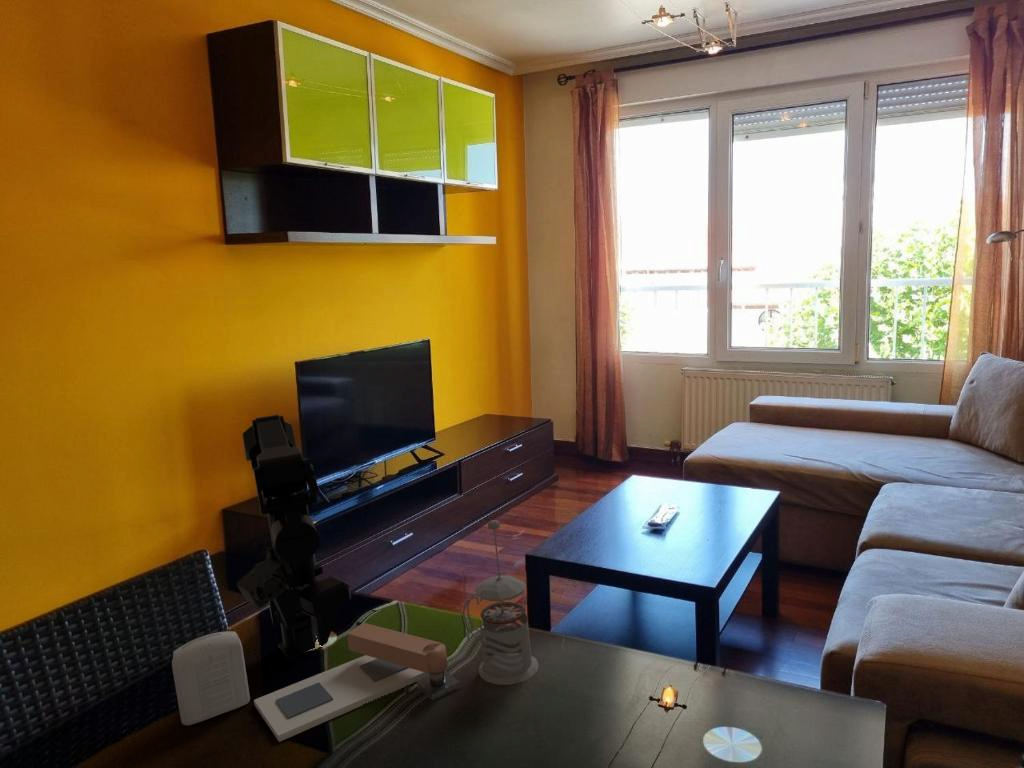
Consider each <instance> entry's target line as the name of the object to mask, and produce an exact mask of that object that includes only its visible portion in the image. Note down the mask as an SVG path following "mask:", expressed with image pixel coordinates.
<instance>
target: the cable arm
mask: <svg viewBox="0 0 1024 768" xmlns="http://www.w3.org/2000/svg"><path fill="white" fill-rule="evenodd" d="M346 637H347V644H348V645H347V646H348V650H349V651H351V652H353V653H358V654H361V655H363V656H365V655H367V656H370V657H374V658H377V659H381V660H384V661H388V662H391V663H394V664H398V665H401V666H405V667H408V668H411V669H415V670H418V671H422V672H425V673H439V672H442V671H444V670H445V671H446V669H447V668H448V666H449V665H448V664H449V663H448V656H447V647H446V645H445V644H444V643H443V642H441V641H435V640H432V639H429V638H428V639H427V638H424V637H420V636H416V635H413V634H409V633H405V632H402V631H401V632H400V631H397V630H393V629H390V628H385V627H381V626H378V625H374V624H370V623H367V622H362V623H361V624H359V625H358V626H356V627H355V628H353V629H351V630H350V631H348V632H347V633H346Z"/></svg>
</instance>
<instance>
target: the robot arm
mask: <svg viewBox="0 0 1024 768" xmlns="http://www.w3.org/2000/svg"><path fill="white" fill-rule="evenodd" d="M242 441H243V449H244V455H245V460H246V462H249V461H250V464H251V465H250V467H251V470H252V471H253V475H254V481H255V487H256V492H257V497H258V498H257V499H258V504H259V508H260V514H261V515H265V514H267V519H268V526H269V533H270V538H271V545H270V546H267V547H266V549H267V550H265V555H266V558H265V560H263V561H260V562H257V563H255V564H253V567H252V568H251V569H250V570H249V571H248V572H247V573H246V574H245V575H243V577H241V578H240V579H239V580H238V581H237V583H236V587H237V588H238V589H239V591H240V592H241V594H242V596H243V597H244V599H245V600H246V602H248V603H250V604H251V605H254V607H257V608H262V607H264V606H266V605H268V604H269V605H268V606H269V611H270V616H271V621H272V626H273V627H274V626H278V625H280V628H281V637H282V641H281V642H279V643H277V647H278V646H279V647H278V649H279V648H280V649H281V650H282V651H283V652H284V653H285V654H286V656H287V657H288V658H292V657H294V656H295V655H297V654H298V653H300V654H301V653H303V652H305V651H308V650H310V649H313V648H315V642H316V640H317V639H318V642H319V645H321V646H323V645H324V646H325V645H326V644H327V643H328V641H329V639H330V636H331V632H332V630H333V627H334V624H335V621H336V618H337V616H338V614H339V612H340V610H341V607H342V606H343V605H344V604H346V603H347V602H348V601H351V600H352V595H351V594H352V593H351V586H350V585H349V584H348V583H346V582H345V581H343V580H342V581H341V580H339V579H337V578H335V577H333V576H328V577H326V578H323V579H321V580H317V579H316V577H317V576H320V575H322V574H324V570H323V566H320V565H318V564H317V561H316V560H317V559H316V552H317V550H318V549H320V548H321V547H320V537H319V534H318V531H317V529H316V527H315V526H316V525H315V524H314V522H313V520H312V518H311V516H310V513H309V512H310V511H309V507H308V506H310V505H314V504H316V505H317V504H318V501H317V495H319V493H320V490H319V486H318V480H317V478H316V477H317V476H316V473H315V469H314V465H313V464H311V462H310V460H309V459H308V458H304V455H303V453H302V451H301V449H300V448H298V447H296V446H297V444H296V438H295V433H294V428H293V425H292V424H291V423H288V422H286V421H285V419H284V415H280V414H273V415H268V416H267V415H266V416H259V417H256V418H255V419H252V420H251V425H250V427H248V428H247V429H246V430H245V431H244V432H243V433H242ZM307 490H308V491H309V492H307ZM309 494H310V495H309ZM264 499H265V501H266V503H264ZM316 636H317V638H316ZM280 644H281V645H280ZM324 646H323V647H324ZM280 649H279V650H280ZM281 650H280V651H281ZM282 651H281V652H282ZM283 652H282V653H283ZM284 653H283V654H284ZM285 654H284V655H285ZM291 655H292V656H291ZM286 656H285V657H286ZM287 657H286V658H287ZM288 658H287V659H288Z"/></svg>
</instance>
